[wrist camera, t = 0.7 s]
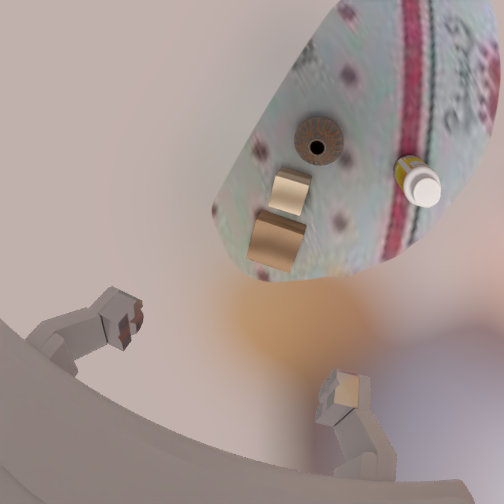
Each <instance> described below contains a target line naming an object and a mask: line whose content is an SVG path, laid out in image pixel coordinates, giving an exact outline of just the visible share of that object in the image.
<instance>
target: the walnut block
mask: <svg viewBox="0 0 504 504" xmlns="http://www.w3.org/2000/svg"><path fill="white" fill-rule="evenodd" d="M305 228H306V225H305V224H302V223H299V222H296V221H293V220H290V219H287V218H284V217H281V216H279V215H276V214H273V213H270V212H267V211H264V210H262V211H261V212H260V214H259V216H258V217H257V219H256V223H255V226H254V230H253V234H252V238H251V241H250V245H249V249H248V253H247V256H246V258H247V259H250V260H253V261H256V262H259V263H261V264H264V265H267V266H270V267H273V268H276V269H279V270H282V271H284V272H287V273H290V270H291V268H292V265H293V263H294V260H295V257H296V255H297V252H298V250H299V247H300V244H301V242H302V239H303V236H304V233H305Z"/></svg>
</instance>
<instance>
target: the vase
mask: <svg viewBox="0 0 504 504" xmlns="http://www.w3.org/2000/svg"><path fill="white" fill-rule="evenodd" d="M294 143H295V148H296V150H297V152H298V154H299V155H300V157H301V158H302V159H303V160H305V161H306V162H308V163H310V164H313V165H318V166H322V165H327V164H330V163H332V162H334V161H335V160H336V159H337V158H338V157H339V156H340V154H341V152H342V150H343V145H344V140H343V135H342V132H341V130H340V129H339V127H338V126H337V125H336V124H335V123H334V122H332V121H331V120H329V119H326V118H323V117H314V118H310V119H308V120H306V121H304V122H303V123H302V124H301V125H300V126H299V127H298V129H297V131H296V133H295V138H294Z"/></svg>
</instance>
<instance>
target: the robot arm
mask: <svg viewBox="0 0 504 504" xmlns="http://www.w3.org/2000/svg"><path fill="white" fill-rule="evenodd" d="M142 307H143V305H142V300H140V299H137V298H135V297H133V296H131V295H129V294H127V293H125V292H123V291H121V290H119V289H117V288H115V287H113V286H112V287H109V288H108V289H107V290H106V291H105V292H104V293H103V294H102V295H101V296H100V297H99V298H98V299H97V300H96V301H95V302H94V303H93V304H92V305H91V306H90V307H89V309H87V308H83V309H80V310H77V311H73V312H70V313H67V314H64V315H61V316H58V317H54V318H52V319H48V320H45V321H42V322H41V323H40V324H39V325H38V326H37V327H36V328H35V329H34V330H33V331H32V332H31V333H30V334H29V336H28V337H27V338H26V339H25V340H24V339H23V338H21V337H20V336H19V335H18V334H17V333H16V332H15V331H13V330H12V329H11V328H10V327H9V326H8V325H7V324H6V323H4V322H3V321H2V320H1V319H0V504H475V502H474V499H473V497H472V495H471V494H470V492H469V490H468V489H467V487H466V486H465V484H464V483H463V481H461V480H458V479H457V480H454V479H453V480H441V481H421V482H395V479H396V462H397V454H396V452H395V450H394V448H393V447H392V445H391V443H390V441H389V440H388V438H387V436H386V434H385V432H384V430H383V429H382V427H381V426H380V423H379V422H378V420H377V418H376V416H375V415H374V413H373V412H371V411H370V378H369V377H367V376H362V375H358V374H355V373H351V372H346V371H343V370H339V369H334V370H333V371H332V372H331V376H330V378H328V379H326V380H325V382H324V383H323V385H322V388H321V391H320V394H319V401H320V403H321V405H320V406H319V407H318V408H317V412H316V418H315V422H316V423H320V424H324V425H329V426H333V429H334V431H335V434H336V437H337V439H338V442H339V444H340V447H341V450H342V452H343V455H344V458H345V461H346V463H345V464H343V465H341V466H339V467H338V468H336V469H335V470H334V472H333V476H326V475H320V474H314V473H308V472H303V471H298V470H293V469H288V468H284V467H279V466H275V465H271V464H267V463H263V462H260V461H256V460H252V459H249V458H246V457H242V456H239V455H236V454H232V453H229V452H226V451H223V450H220V449H218V448H215V447H212V446H209V445H206V444H204V443H201V442H198V441H196V440H193V439H191V438H188V437H186V436H183V435H181V434H178V433H176V432H174V431H172V430H169V429H167V428H165V427H163V426H160V425H158V424H156V423H154V422H152V421H150V420H148V419H146V418H144V417H142V416H140V415H138V414H136V413H134V412H132V411H130V410H128V409H126V408H124V407H123V406H121V405H119V404H117V403H115V402H114V401H112V400H110V399H108V398H107V397H105V396H103V395H101V394H100V393H98V392H97V391H95V390H93V389H91V388H90V387H88V386H87V385H85V384H84V383H82V382H81V381H79V380H78V379H76V378H75V376H76V375H77V373H78V369H77V367H76V365H75V363H74V360H76V359H78V358H80V357H82V356H84V355H87V354H89V353H91V352H92V351H95V350H97V349H99V348H101V347H103V346H105V345H107V343H108V344H110V345H112V346H114V347H116V348H118V349H120V350H122V351H124V350H125V349H126V347H127V346H128V345H129V343H130V342H131V335H134V334H136V333H137V332H138V331H139V330H140V328H141V325H142V323H143V318H144V317H143V313H142V311H141V308H142Z"/></svg>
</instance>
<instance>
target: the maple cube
mask: <svg viewBox="0 0 504 504" xmlns="http://www.w3.org/2000/svg"><path fill="white" fill-rule="evenodd" d="M311 178H312V176H309V175H306V174H303V173H300V172H297V171H294V170H290V169H287V168H284V167H281V169H280V170H279V172H278V173H277V175H276V177H275V181H274V185H273V188H272V192H271V196H270V200H269V204H268V206H270V207H273V208H277V209H280V210H283V211H286V212H289V213H292V214H295V215H298V216H300V214H301V211H302V207H303V204H304V201H305V198H306V195H307V192H308V188H309V185H310V182H311Z"/></svg>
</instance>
